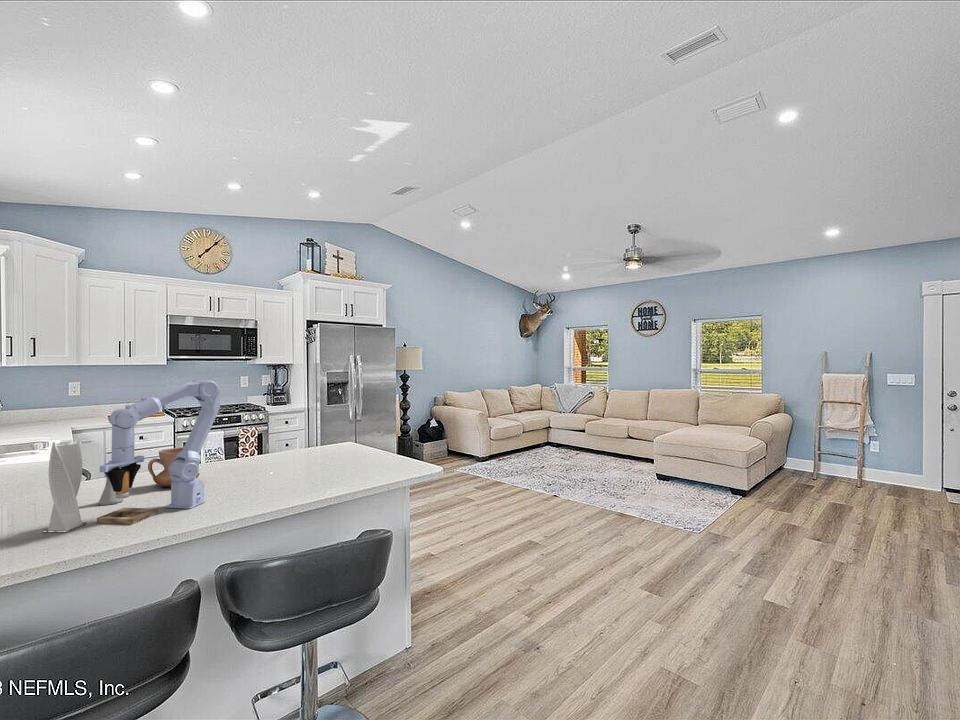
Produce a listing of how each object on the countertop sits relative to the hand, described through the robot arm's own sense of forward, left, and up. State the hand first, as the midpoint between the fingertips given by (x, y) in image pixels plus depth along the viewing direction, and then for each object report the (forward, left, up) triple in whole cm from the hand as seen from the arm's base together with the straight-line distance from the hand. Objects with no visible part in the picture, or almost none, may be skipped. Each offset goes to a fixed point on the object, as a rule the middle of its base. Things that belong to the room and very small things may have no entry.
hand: (122, 489), depth 146 cm
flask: (+18, -15, -10) cm, 25 cm away
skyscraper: (+9, +9, -10) cm, 16 cm away
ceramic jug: (+12, -38, -10) cm, 41 cm away
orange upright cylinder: (0, 0, -2) cm, 2 cm away
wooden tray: (-1, -1, -9) cm, 10 cm away
